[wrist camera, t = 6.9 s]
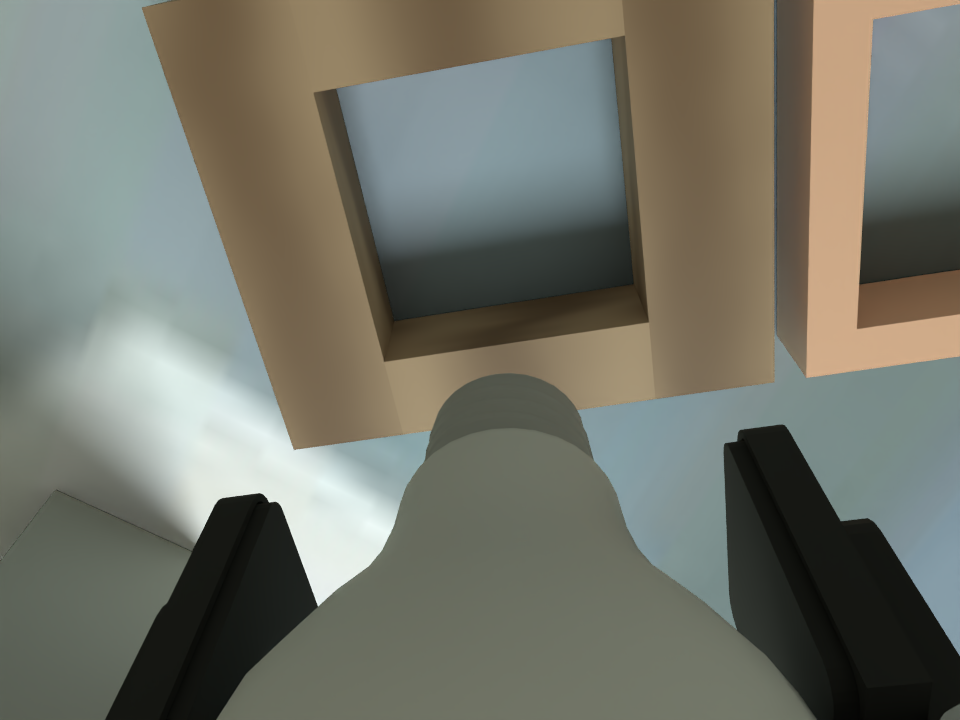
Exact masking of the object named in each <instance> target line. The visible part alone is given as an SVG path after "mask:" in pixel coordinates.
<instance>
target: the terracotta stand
mask: <svg viewBox="0 0 960 720" xmlns="http://www.w3.org/2000/svg"><path fill="white" fill-rule="evenodd" d="M956 4H960V0H777V336H778V338H779V339H780V341H781V342H782V343H783V345H784V346H785V348H786V349H787V351H788V352H789V354H790V355H791V356H792V358H793V359H794V361H795V362H796V364H797V365H798V367H799V368H800V369H801V371H802V372H803V374H804V375H805V377H806V378H808V377H815V376H822V375H829V374H837V373H844V372H851V371H858V370H865V369H872V368H879V367H886V366H893V365H901V364H908V363H915V362H922V361H929V360H936V359H943V358H950V357H957V356H960V270H954V271H947V272H941V273H934V274H927V275H921V276H914V277H907V278H901V279H894V280H887V281H881V282H874V283H867V284H861V285H859V277H860V257H861V238H862V219H863V200H864V181H865V162H866V143H867V124H868V105H869V86H870V67H871V48H872V29H873V19H878V18H883V17H889V16H894V15H900V14H906V13H911V12H917V11H922V10H928V9H933V8H939V7H944V6H950V5H956Z"/></svg>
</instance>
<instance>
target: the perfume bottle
mask: <svg viewBox="0 0 960 720" xmlns="http://www.w3.org/2000/svg"><path fill="white" fill-rule="evenodd" d="M191 553H192V552H191V551H189V550H187V549H185V548H183V547H180V546H178V545H176V544H174V543H172V542H169V541H167V540H165V539H163V538H161V537H158V536H156V535H154V534H152V533H150V532H147V531H145V530H143V529H141V528H139V527H136V526H134V525H132V524H130V523H128V522H125V521H123V520H121V519H119V518H117V517H114V516H112V515H110V514H108V513H106V512H103V511H101V510H99V509H97V508H95V507H92V506H90V505H88V504H86V503H84V502H81V501H79V500H77V499H75V498H73V497H70V496H68V495H66V494H64V493H62V492H59V491H57V490H55V491H54V492H53V494H52V495H51V496H50V498H49V499H48V500H47V501H46V503H45V504H44V505H43V507H42V508H41V509H40V511H39V512H38V513H37V514H36V516H35V517H34V518H33V520H32V521H31V522H30V523H29V525H28V526H27V527H26V529H25V530H24V531H23V533H22V534H21V535H20V536H19V538H18V539H17V540H16V542H15V543H14V544H13V546H12V547H11V548H10V549H9V551H8V552H7V553H6V555H5V556H4V557H3V559H2V560H1V561H0V720H105V719H106V717H107V714H108V712H109V710H110V708H111V706H112V704H113V702H114V700H115V698H116V696H117V694H118V692H119V690H120V688H121V686H122V684H123V682H124V680H125V678H126V676H127V674H128V672H129V670H130V668H131V666H132V664H133V662H134V660H135V658H136V656H137V654H138V652H139V650H140V648H141V646H142V644H143V642H144V640H145V638H146V636H147V634H148V632H149V630H150V628H151V626H152V624H153V621H154V619H155V617H156V616H157V614H158V613H159V611H160V610H161V608H162V607H163V606H164V605H165V604H167V602H168V600H169V598H170V596H171V594H172V592H173V590H174V588H175V586H176V584H177V582H178V580H179V578H180V576H181V574H182V572H183V570H184V568H185V566H186V564H187V561H188V559H189V557H190V555H191Z"/></svg>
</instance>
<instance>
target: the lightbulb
mask: <svg viewBox="0 0 960 720" xmlns="http://www.w3.org/2000/svg"><path fill="white" fill-rule="evenodd" d="M216 720H817V719H816V717H815V716H814V715H813V713H812V712H811V710H810V709H809V707H808V706H807V705H806V703H805V702H804V700H803V699H802V697H801V696H800V695H799V693H798V692H797V691H796V690H795V688H794V687H793V686H792V685H791V684H790V683H789V681H788V680H787V679H786V678H785V677H784V676H783V674H782V673H781V672H780V671H779V670H778V669H777V668H776V666H775V665H774V664H773V663H772V662H771V661H770V659H769V658H768V657H767V656H766V655H765V654H764V653H763V652H761V651H760V650H759V649H758V648H757V647H756V646H754V645H753V644H752V643H751V642H750V641H749V640H747V639H746V638H745V637H744V636H743V635H742V634H741V633H739V632H738V631H737V630H736V629H735V628H734V627H732V626H731V625H730V624H729V623H728V622H727V621H725V620H724V619H723V618H722V617H721V616H720V615H719V614H717V613H716V612H715V611H714V610H713V609H712V608H710V607H709V606H708V605H707V604H706V603H705V602H703V601H702V600H701V599H699V598H698V597H697V596H695V595H694V594H692V593H691V592H690V591H688V590H687V589H686V588H684V587H683V586H681V585H680V584H679V583H677V582H676V581H675V580H673V579H672V578H670V577H669V576H668V575H666V574H665V573H663V572H662V571H660V570H659V569H658V568H656V567H655V566H653V565H652V564H651V563H650V562H649V561H648V559H647V558H646V557H645V556H644V555H643V554H642V552H641V551H640V550H639V549H638V548H637V546H636V544H635V542H634V540H633V538H632V536H631V534H630V532H629V531H628V529H627V527H626V523H625V520H624V517H623V514H622V510H621V507H620V504H619V501H618V497H617V494H616V492H615V490H614V488H613V486H612V484H611V482H610V481H609V479H608V477H607V476H606V474H605V473H604V472H603V471H602V470H601V468H600V467H599V466H598V465H597V464H596V463H595V462H594V459H593V456H592V452H591V448H590V445H589V441H588V437H587V434H586V432H585V430H584V428H583V425H582V421H581V417H580V415H579V413H578V411H577V409H576V407H575V405H574V404H573V403H572V402H571V401H570V399H569V398H568V397H567V396H566V395H565V394H564V393H563V392H561V391H560V390H559V389H558V388H556V387H555V386H553V385H551V384H550V383H548V382H546V381H544V380H542V379H539V378H535V377H532V376H529V375H523V374H515V373H504V374H493V375H489V376H485V377H481V378H478V379H476V380H474V381H471V382H469V383H467V384H465V385H464V386H462V387H461V388H459V389H458V390H456V391H455V392H454V393H453V394H452V395H451V396H450V397H449V398H448V399H447V400H446V401H445V403H444V404H443V406H442V407H441V409H440V410H439V412H438V414H437V417H436V420H435V423H434V425H433V428H432V431H431V434H430V439H429V444H428V447H427V450H426V458H425V461H424V463H423V464H422V465H421V466H420V467H419V468H418V470H417V471H416V473H415V474H414V476H413V477H412V479H411V480H410V482H409V483H408V485H407V486H406V489H405V492H404V494H403V497H402V500H401V503H400V506H399V510H398V514H397V517H396V521H395V525H394V527H393V529H392V532H391V534H390V536H389V538H388V540H387V542H386V544H385V546H384V548H383V550H382V551H381V552H380V554H379V555H378V556H377V557H376V559H375V560H374V561H373V562H372V563H371V565H370V566H369V567H367V568H366V569H365V570H363V571H362V572H361V573H359V574H358V575H356V576H355V577H354V578H352V579H351V580H349V581H348V582H347V583H345V584H344V585H343V586H341V587H340V588H338V589H337V590H336V591H335V592H334V593H333V594H332V595H330V596H329V597H328V598H327V599H326V600H325V601H324V602H323V603H322V604H321V605H320V606H318V607H317V608H316V609H315V610H314V611H313V612H312V613H311V614H310V615H309V616H308V617H306V618H305V619H304V620H303V621H302V622H301V623H300V624H299V625H298V626H297V627H296V628H294V629H293V630H292V631H291V632H290V633H289V634H288V635H287V636H286V637H285V638H284V639H282V640H281V641H280V642H279V643H278V644H277V645H276V646H275V647H274V648H273V649H272V650H271V651H270V652H269V653H268V654H267V655H266V656H264V657H263V658H262V659H261V660H260V661H259V662H258V663H257V664H256V665H255V666H254V667H253V668H252V669H251V670H250V671H249V672H248V673H247V674H246V675H245V676H244V678H243V679H242V681H241V682H240V684H239V686H238V687H237V689H236V690H235V692H234V693H233V695H232V696H231V698H230V699H229V701H228V702H227V704H226V706H225V707H224V709H223V710H222V712H221V713H220V715H219V716H218V718H217V719H216Z"/></svg>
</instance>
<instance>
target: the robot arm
mask: <svg viewBox="0 0 960 720" xmlns="http://www.w3.org/2000/svg"><path fill="white" fill-rule="evenodd" d="M724 473H725V499H726V524H727V550H728V575H729V596H730V604H731V609H732V614H733V618H734V621H735V625H736V628H737V631H738V632H739V633H741V634H742V635H743V636H744V637H745V638H746V639H747V640H749V641H750V642H751V643H752V644H753V645H754V646H756V647H757V648H758V649H759V650H760V651H761V652H763V653H764V654H765V655H766V656H767V657H768V658H769V659H770V661H771V662H772V663H773V664H774V665H775V666H776V668H777V669H778V670H779V671H780V672H781V673H782V674H783V676H784V677H785V678H786V679H787V680H788V681H789V683H790V684H791V685H792V686H793V687H794V688H795V690H796V691H797V692H798V693H799V695H800V696H801V697H802V699H803V700H804V702H805V703H806V705H807V706H808V707H809V709H810V710H811V712H812V713H813V715H814V716H815V717H816V719H817V720H960V656H959V654H958V653H957V651H956V649H955V648H954V646H953V645H952V643H951V641H950V640H949V638H948V637H947V635H946V634H945V632H944V630H943V629H942V627H941V626H940V624H939V622H938V621H937V619H936V618H935V616H934V614H933V613H932V611H931V610H930V608H929V606H928V605H927V603H926V602H925V600H924V599H923V597H922V595H921V594H920V592H919V591H918V589H917V587H916V586H915V584H914V583H913V581H912V579H911V578H910V576H909V575H908V573H907V572H906V570H905V568H904V567H903V565H902V564H901V562H900V560H899V559H898V557H897V556H896V554H895V552H894V551H893V549H892V548H891V546H890V545H889V543H888V541H887V540H886V538H885V537H884V535H883V533H882V532H881V530H880V529H879V528H878V527H877V525H876V524H875V523H874V522H873V521H871V520H870V519H868V518H866V519H857V520H849V521H840V519H839V518H838V516H837V514H836V512H835V511H834V509H833V507H832V505H831V504H830V502H829V500H828V498H827V497H826V495H825V493H824V491H823V490H822V488H821V486H820V484H819V483H818V481H817V479H816V477H815V476H814V474H813V472H812V470H811V469H810V467H809V465H808V463H807V462H806V460H805V458H804V456H803V455H802V453H801V451H800V449H799V448H798V446H797V444H796V442H795V441H794V439H793V437H792V435H791V434H790V432H789V430H788V429H787V427H786V426H785V425H774V426H767V427H759V428H752V429H744V430H740V431H739V432H738V440H737V442H731V443H725V444H724ZM317 607H318V605H317V603H316V600H315V597H314V594H313V592H312V589H311V586H310V584H309V581H308V578H307V575H306V573H305V570H304V567H303V565H302V562H301V559H300V556H299V554H298V551H297V548H296V546H295V543H294V540H293V537H292V535H291V532H290V529H289V526H288V524H287V521H286V518H285V516H284V513H283V510H282V508H281V506H280V505H279V504H278V503H277V502H270V503H269V502H268V500H267V498H266V497H265V496H264V495H263V494H260V493H258V494H251V495H243V496H235V497H228V498H222V499H220V500H218V502H217V503H216V504H215V506H214V508H213V510H212V512H211V514H210V516H209V518H208V520H207V523H206V525H205V527H204V529H203V531H202V533H201V535H200V537H199V539H198V541H197V543H196V545H195V547H194V549H193V551H192V553H191V555H190V557H189V559H188V561H187V564H186V566H185V568H184V570H183V572H182V574H181V576H180V578H179V580H178V582H177V584H176V586H175V588H174V590H173V592H172V594H171V596H170V598H169V600H168V602H167V604H165V605H164V606H163V607H162V608H161V610H160V611H159V613H158V614H157V616H156V617H155V619H154V621H153V624H152V626H151V628H150V630H149V632H148V634H147V636H146V638H145V640H144V642H143V644H142V646H141V648H140V650H139V652H138V654H137V656H136V658H135V660H134V662H133V664H132V666H131V668H130V670H129V672H128V674H127V676H126V678H125V680H124V682H123V684H122V686H121V688H120V690H119V692H118V694H117V696H116V698H115V700H114V702H113V704H112V706H111V708H110V710H109V712H108V714H107V717H106V719H105V720H216V719H217V718H218V716H219V715H220V713H221V712H222V710H223V709H224V707H225V706H226V704H227V702H228V701H229V699H230V698H231V696H232V695H233V693H234V692H235V690H236V689H237V687H238V686H239V684H240V682H241V681H242V679H243V678H244V676H245V675H246V674H247V673H248V672H249V671H250V670H251V669H252V668H253V667H254V666H255V665H256V664H257V663H258V662H259V661H260V660H261V659H262V658H263V657H264V656H266V655H267V654H268V653H269V652H270V651H271V650H272V649H273V648H274V647H275V646H276V645H277V644H278V643H279V642H280V641H281V640H282V639H284V638H285V637H286V636H287V635H288V634H289V633H290V632H291V631H292V630H293V629H294V628H296V627H297V626H298V625H299V624H300V623H301V622H302V621H303V620H304V619H305V618H306V617H308V616H309V615H310V614H311V613H312V612H313V611H314V610H315V609H316V608H317Z"/></svg>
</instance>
